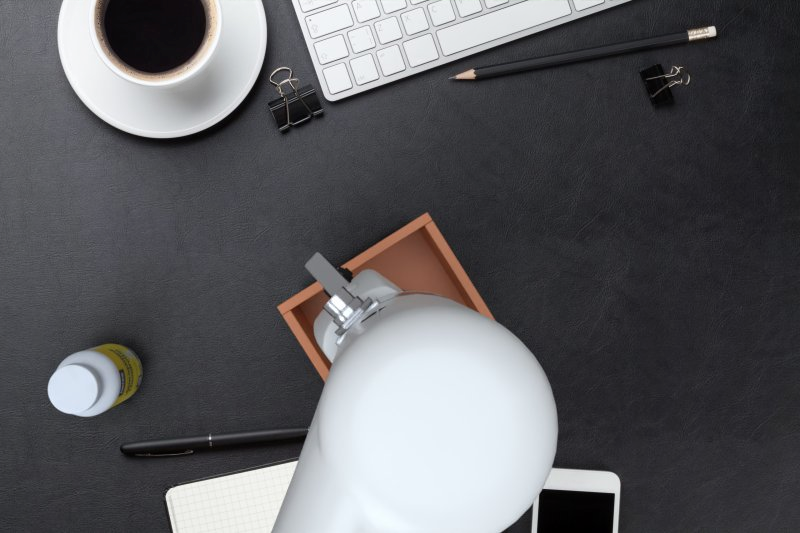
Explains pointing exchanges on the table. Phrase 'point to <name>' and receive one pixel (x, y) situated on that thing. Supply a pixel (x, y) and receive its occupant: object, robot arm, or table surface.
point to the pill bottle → (95, 380)
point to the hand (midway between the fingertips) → (400, 335)
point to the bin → (402, 265)
